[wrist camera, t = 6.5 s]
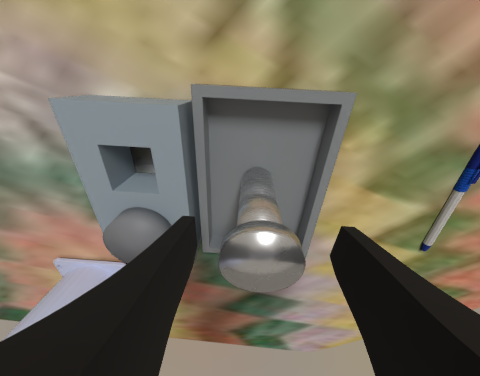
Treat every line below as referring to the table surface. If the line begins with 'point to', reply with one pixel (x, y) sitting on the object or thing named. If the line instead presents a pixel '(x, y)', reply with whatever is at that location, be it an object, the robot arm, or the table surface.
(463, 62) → the table surface
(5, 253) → the table surface
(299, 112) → the tray
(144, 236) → the block
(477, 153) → the ballpoint pen
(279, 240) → the lock pin
